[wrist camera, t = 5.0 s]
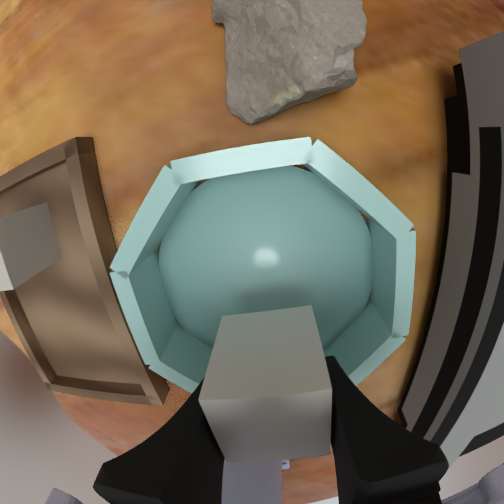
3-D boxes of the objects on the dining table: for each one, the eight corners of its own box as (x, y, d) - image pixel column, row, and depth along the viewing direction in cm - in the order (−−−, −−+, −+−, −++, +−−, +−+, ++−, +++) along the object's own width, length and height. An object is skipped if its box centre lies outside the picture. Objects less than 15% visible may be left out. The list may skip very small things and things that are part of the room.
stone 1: (62, 258, 17) (13, 289, 12) (29, 264, 17) (-15, 293, 12) (47, 201, 15) (-8, 221, 11) (15, 214, 16) (-34, 234, 11)
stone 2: (316, 371, 14) (329, 454, 9) (238, 379, 14) (227, 462, 9) (311, 305, 12) (332, 388, 7) (222, 315, 13) (198, 400, 8)
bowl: (378, 349, 18) (398, 390, 14) (184, 371, 20) (169, 413, 16) (374, 135, 14) (409, 131, 10) (127, 175, 15) (86, 184, 11)
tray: (169, 389, 20) (163, 405, 19) (57, 379, 22) (49, 389, 20) (92, 137, 15) (75, 137, 13) (-14, 191, 16) (-28, 195, 14)
